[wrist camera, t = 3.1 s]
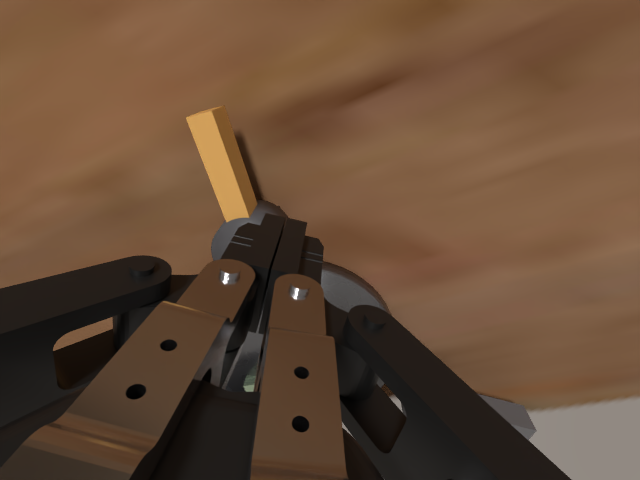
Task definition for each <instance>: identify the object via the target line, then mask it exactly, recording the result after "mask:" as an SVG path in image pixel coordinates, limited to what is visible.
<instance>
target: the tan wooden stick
mask: <svg viewBox="0 0 640 480" xmlns="http://www.w3.org/2000/svg"><path fill="white" fill-rule="evenodd" d="M186 119H187V122H188V124H189V127H190V130H191V132H192V135H193V137H194V140H195V142H196V145H197V148H198V150H199V153H200V155H201V158H202V161H203V163H204V166H205V168H206V171H207V173H208V176H209V179H210V181H211V184H212V186H213V189H214V191H215V194H216V197H217V199H218V202H219V204H220V207H221V210H222V212H223V215H224V217H225V221H224V223H223V224H222V225H221V227H220V228H219V230H218V231H217V233H216V234H215V236H214V238H213V241H212V246H211V252H212V257H213V260H214V261H215V260H220V259H221V257H222V255H223V253H224V252H225V250H226V248H227V246H228V245H229V243H230V242H231V240H232V238H233V236H234V234H235V233H236V231H237V229H238V227H240V226H242V225H244V224H246V223H252V224H257V225H260V224H261V222H262V220H263V218H264V216H265V213H269V214H273V215H277V216H281V217H286V220H285V224H286V221H287V218H288V216H287V215H286V214H285V212H284V211H283V210H282V209H280V208H279V207H278V206H276V205H275V204H273V203H271V202H268V201H264V200H256V198H255V195H254V192H253V189H252V186H251V183H250V180H249V177H248V174H247V171H246V168H245V165H244V162H243V159H242V156H241V153H240V150H239V148H238V145H237V142H236V139H235V136H234V133H233V130H232V127H231V124H230V121H229V118H228V115H227V112H226V109H225V106H220V107H216V108H213V109H209V110H205V111H201V112H199V113H196V114H194V115H191V116H189V117H186ZM284 227H285V225H284Z"/></svg>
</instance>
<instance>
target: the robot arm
mask: <svg viewBox="0 0 640 480" xmlns="http://www.w3.org/2000/svg"><path fill="white" fill-rule="evenodd" d="M285 220H286V217H281V216H277V215H273V214H269V213H265V216H264V218H263V220H262V222H261V224H260V225H257V224H252V223H246V224H244V225H242V226H240V227H238V229H237V231H236V233H235V234H234V236H233V238H232V240H231V242H230V243H229V245H228V246H227V248H226V250H225V252H224V253H223V255H222V257H221V259H220V260H215V261H212V262H210V263H208V264H207V265H206V266H205V267H204V268H203V270H202V271H201V272H200V273H199V274H197V275H171V272H172V270H171V266H170V265H169V264H168V263H167V262H166V261H164V260H162V259H160V258H157V257H153V256H144V255H143V256H132V257H127V258H123V259H119V260H115V261H111V262H107V263H103V264H99V265H95V266H91V267H87V268H82V269H78V270H74V271H70V272H66V273H62V274H58V275H54V276H50V277H46V278H42V279H38V280H34V281H30V282H26V283H22V284H18V285H13V286H9V287H5V288H1V289H0V480H384V479H385V480H571V479H570V478H569V477H568V476H567V475H566V474H565V473H564V472H562V471H561V470H560V469H559V468H558V467H557V466H556V465H555V464H554V463H553V462H551V461H550V460H549V459H548V458H547V457H546V456H545V455H544V454H543V453H542V452H540V451H539V450H538V449H537V448H536V447H535V446H534V445H533V444H532V443H531V442H530V441H528V440H527V439H526V438H525V437H524V436H523V435H522V434H521V433H520V432H519V431H517V430H516V429H515V428H514V427H513V426H512V425H511V424H510V423H509V422H508V421H506V420H505V419H504V418H503V417H502V416H501V415H500V414H499V413H498V412H497V411H496V410H494V409H493V408H492V407H491V406H490V405H489V404H488V403H487V402H486V401H485V400H483V399H482V398H481V397H480V396H479V395H478V394H477V393H476V392H475V391H474V390H472V389H471V388H470V387H469V386H468V385H467V384H466V383H465V382H464V381H463V380H462V379H460V378H459V377H458V376H457V375H456V374H455V373H454V372H453V371H452V370H451V369H449V368H448V367H447V366H446V365H445V364H444V363H443V362H442V361H441V360H440V359H438V358H437V357H436V356H435V355H434V354H433V353H432V352H431V351H430V350H429V349H427V348H426V347H425V346H424V345H423V344H422V343H421V342H420V341H419V340H418V339H417V338H415V337H414V336H413V335H412V334H411V333H410V332H409V331H408V330H407V329H406V328H404V327H403V326H402V325H401V324H400V323H399V322H398V321H397V320H396V319H395V318H393V317H392V316H391V315H390V314H389V313H387V312H386V311H384V310H382V309H380V308H378V307H375V306H371V305H357V306H354V307H353V308H351V309H350V311H349V313H348V312H346V311H344V310H342V309H339V308H337V307H335V306H334V305H332V304H331V303H330V302H328V301H327V300H326V299H325V297H324V292H323V289H322V287H321V276H322V262H323V249H324V247H323V245H322V244H321V242H320V240H319V239H317V238H313V237H309V236H305V231H306V226H307V222H303V221H299V220H294V219H290V218H287V221H286V224H285ZM284 225H285V227H284ZM262 311H263V313H262ZM261 314H262V317H261ZM110 317H113V329H111V330H109V331H106V332H103V333H101V334H98V335H95V336H93V337H90V338H87V339H85V340H82V341H80V342H77V343H74V344H72V345H69V346H66V347H64V348H61V349H58V350H56V351H53V347H54V345H55V343H56V341H57V340H58V339H59V338H60V337H62V336H63V335H65V334H66V333H68V332H71V331H73V330H76V329H79V328H82V327H85V326H87V325H90V324H93V323H96V322H99V321H102V320H104V319H107V318H110ZM260 318H261V322H260V327H259V332H258V333H259V334H263V340H262V344H261V349H260V354H259V359H258V365H257V371H256V378H255V384H254V390H253V392H230V391H227V390H225V388H226V386H227V383H228V381H229V379H230V377H231V374H232V372H233V370H234V367H235V365H236V363H237V361H238V358H239V356H240V354H241V351H242V346H243V343H244V342H245V340H246V337H247V334H248V331H249V332H253V333H256V331H257V328H258V324H259V321H260ZM379 378H380V379H381V380H382V381H383V382H384V383H385V384H386V385H387V387H388V388H389V389H390V390H391V391H392V392H393V393H394V394H395V395H396V397H397V398H398V399H399V400H400V401H401V403H402V404H403V406H404V408H405V411H406V416H407V417H406V416H405V415H404V414H403V413H402V412H401V410H400V409H399V408H398V407H397V406H396V405H395V404H394V403H393V401H392V400H391V399H390V398H389V397H388V396H387V395H386V393H385V392H384V391H383V390H382V389H381V388H380V387H379V386H378V384H377V382H378V380H379ZM342 422H343V423H344V425H345V426H346V427H347V429H348V430H349V431H350V433H351V434H352V436H353V437H354V438H355V439H354V438H353V437H352V436H351V435H350V434H349V433H348V432H347V431H346V430H345V429H343V428H342Z"/></svg>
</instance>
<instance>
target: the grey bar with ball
mask: <svg viewBox="0 0 640 480" xmlns="http://www.w3.org/2000/svg"><path fill="white" fill-rule="evenodd" d="M478 395H479V396H480V397H481V398H482V399H483V400H485V401H486V402H487V403H488V404H489V405H490V406H491V407H492V408H493V409H494V410H496V411H497V412H498V413H499V414H500V415H501V416H502V417H503V418H504V419H505V420H506V421H508V422H509V423H510V424H511V425H512V426H513V427H514V428H515V429H516V430H517V431H519V432H520V433H521V434H522V435H523V436H524V437H525V438H526V439H527V440H529V439H530V438H531V436H532V435H533V434H534V433H535V432H536V429H535V427H534V425H533V423H532V421H531V419H530V417H529V415H528V413H527V411H526V410H525V408H524V406H523V405H519V404H515V403H511V402H507V401H503V400H500V399H496V398H492V397H488V396H484V395H480V394H478ZM401 404H402V403H401ZM402 410H403V414H404V415H405V416H406V411H405V408H404V406H403V404H402ZM406 417H407V416H406Z"/></svg>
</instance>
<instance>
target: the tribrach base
mask: <svg viewBox="0 0 640 480" xmlns="http://www.w3.org/2000/svg"><path fill="white" fill-rule="evenodd" d="M278 207H279V208H280V206H278ZM321 287H322V289H323V292H324V297H325V299H326V300H327V301H328V302H330V303H331V304H332V305H334V306H335V307H337V308H339V309H342V310H344V311H346V312H348V313H349V311H350V309H351V308H353V307H354V306H357V305H371V306H375V307H378V308H380V309H382V310H384V311H386V312H387V313H389V314H390V315H391V313H390V311H389V309H388V307H387V305H386V303H385V302H384V300H383V299H382V297H381V296H380V295H379V293H378V292H377V291H376V290H375V289H374V288H373V287H372V286H371V285H370V284H369V283H367V282H366V281H365V280H364V279H362V278H361V277H359V276H358V275H356V274H354V273H353V272H351V271H349V270H347V269H345V268H343V267H340V266H337V265H334V264H331V263H328V262H324V261H323V262H322V276H321ZM262 313H263V311H262ZM261 317H262V314H261ZM260 322H261V318H260V321H259V324H258V328H257V331H256V333H253V332H249V331H248V334H247V337H246V340H245V342H244V343H243V346H242V351H241V354H240V356H239V358H238V361H237V363H236V365H235V367H234V370H233V372H232V374H231V377H230V379H229V381H228V383H227V386H226V388H225V390H227V391H230V392H253V390H254V384H255V378H256V371H257V365H258V359H259V354H260V349H261V344H262V340H263V334H259V333H258V332H259V327H260ZM377 384H378V386H379V387H380V388H381V387H382V386H383V385H384V384H385V383H384V382H383V381H382V380H381V379H380V378H379V380H378V382H377Z"/></svg>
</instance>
